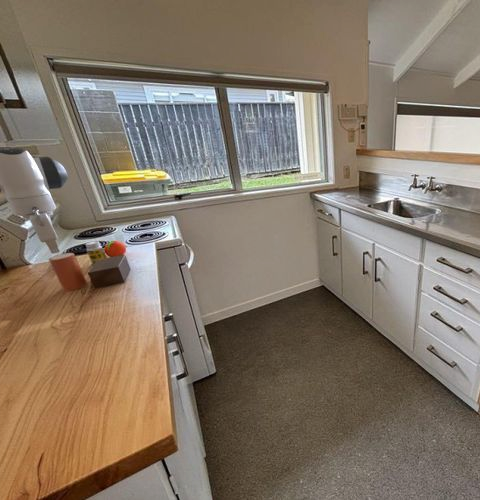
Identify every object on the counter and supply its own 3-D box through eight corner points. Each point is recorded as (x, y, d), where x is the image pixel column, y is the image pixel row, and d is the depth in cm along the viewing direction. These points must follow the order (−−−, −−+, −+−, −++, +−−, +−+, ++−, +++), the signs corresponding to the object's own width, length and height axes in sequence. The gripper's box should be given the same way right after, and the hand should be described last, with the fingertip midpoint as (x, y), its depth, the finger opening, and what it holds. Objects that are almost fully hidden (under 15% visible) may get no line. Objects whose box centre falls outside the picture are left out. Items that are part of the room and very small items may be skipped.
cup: (44, 261, 86) (70, 257, 89) (52, 255, 91) (76, 251, 94) (60, 292, 90) (84, 287, 93) (67, 285, 95) (89, 280, 98)
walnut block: (94, 289, 92) (87, 272, 90) (104, 274, 102) (97, 259, 99) (124, 282, 95) (118, 266, 93) (130, 269, 105) (125, 254, 103)
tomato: (122, 260, 113) (116, 243, 111) (102, 262, 112) (95, 246, 109) (131, 252, 121) (125, 237, 118) (113, 255, 119) (106, 239, 116)
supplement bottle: (90, 266, 109) (81, 245, 106) (94, 261, 113) (86, 242, 110) (105, 263, 111) (97, 243, 108) (109, 259, 115) (101, 239, 112)
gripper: (51, 208, 79) (72, 253, 84) (46, 199, 92) (64, 239, 97) (18, 213, 74) (42, 260, 80) (17, 203, 87) (38, 245, 93)
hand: (54, 249), depth 88 cm, fingers open, 8 cm apart
